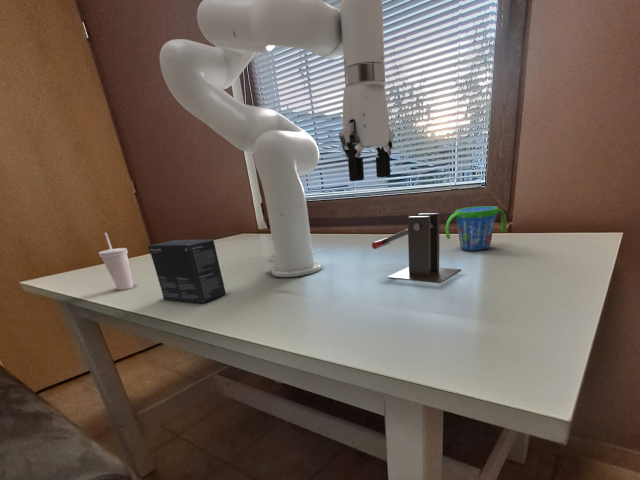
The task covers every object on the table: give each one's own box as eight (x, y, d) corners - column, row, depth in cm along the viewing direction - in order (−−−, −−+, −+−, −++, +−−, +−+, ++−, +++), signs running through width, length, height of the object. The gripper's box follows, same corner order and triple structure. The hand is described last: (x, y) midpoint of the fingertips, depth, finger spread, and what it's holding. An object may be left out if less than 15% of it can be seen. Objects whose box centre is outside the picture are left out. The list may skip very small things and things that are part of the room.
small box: (227, 294, 83) (214, 238, 78) (203, 304, 78) (188, 245, 73) (187, 290, 89) (173, 238, 84) (162, 299, 84) (146, 245, 79)
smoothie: (131, 283, 102) (113, 230, 96) (143, 285, 99) (125, 230, 93) (107, 290, 98) (86, 234, 92) (119, 292, 94) (98, 235, 88)
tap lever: (373, 252, 81) (369, 241, 81) (387, 247, 85) (383, 236, 85) (425, 230, 72) (421, 218, 72) (438, 225, 76) (434, 214, 76)
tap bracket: (387, 282, 80) (384, 219, 74) (410, 270, 86) (409, 212, 81) (440, 288, 72) (441, 218, 67) (461, 275, 79) (463, 211, 74)
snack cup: (449, 254, 97) (450, 213, 93) (441, 247, 107) (441, 209, 103) (511, 249, 96) (515, 207, 92) (498, 242, 106) (500, 203, 101)
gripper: (374, 88, 79) (378, 177, 86) (320, 79, 67) (330, 183, 74) (405, 80, 75) (407, 174, 82) (353, 69, 63) (361, 181, 70)
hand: (370, 178), depth 78 cm, fingers open, 9 cm apart
